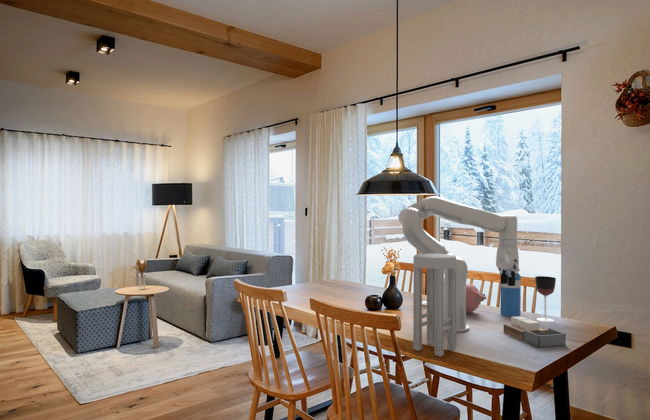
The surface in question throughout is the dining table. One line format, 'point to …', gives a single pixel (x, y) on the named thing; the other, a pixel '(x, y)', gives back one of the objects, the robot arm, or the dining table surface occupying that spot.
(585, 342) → the dining table surface
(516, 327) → the board
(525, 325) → the tile front
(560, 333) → the tray
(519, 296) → the water bottle
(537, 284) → the wineglass
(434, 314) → the stool
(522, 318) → the tile rear
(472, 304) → the pomegranate
